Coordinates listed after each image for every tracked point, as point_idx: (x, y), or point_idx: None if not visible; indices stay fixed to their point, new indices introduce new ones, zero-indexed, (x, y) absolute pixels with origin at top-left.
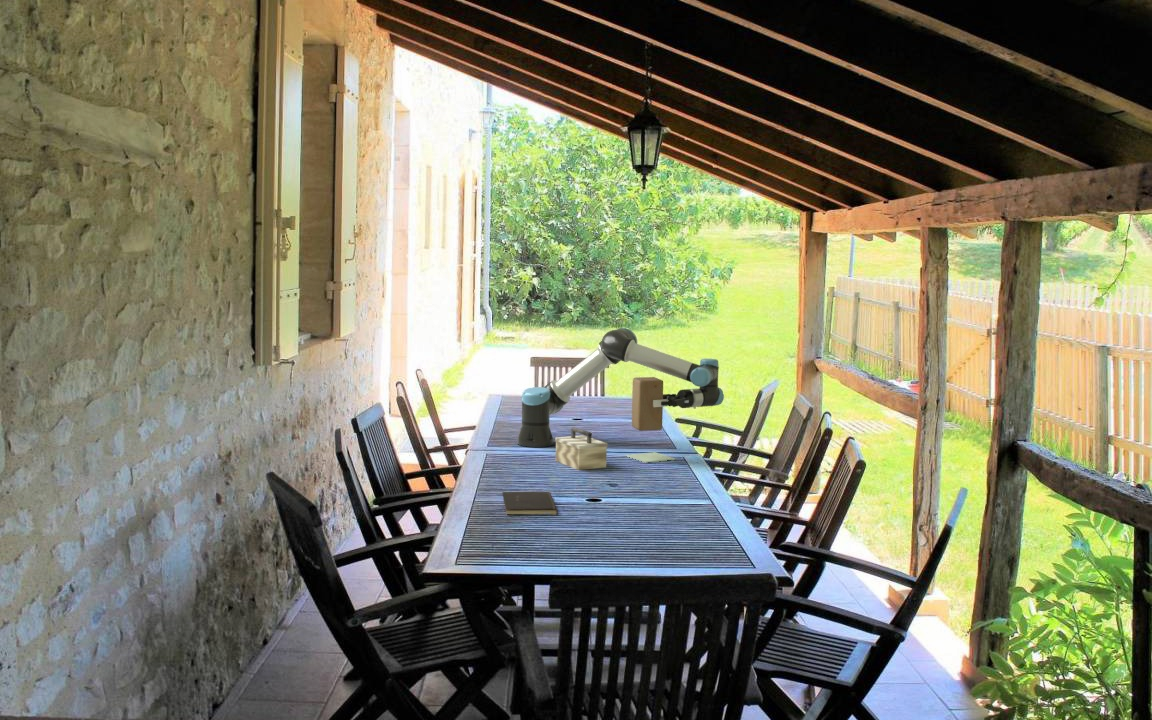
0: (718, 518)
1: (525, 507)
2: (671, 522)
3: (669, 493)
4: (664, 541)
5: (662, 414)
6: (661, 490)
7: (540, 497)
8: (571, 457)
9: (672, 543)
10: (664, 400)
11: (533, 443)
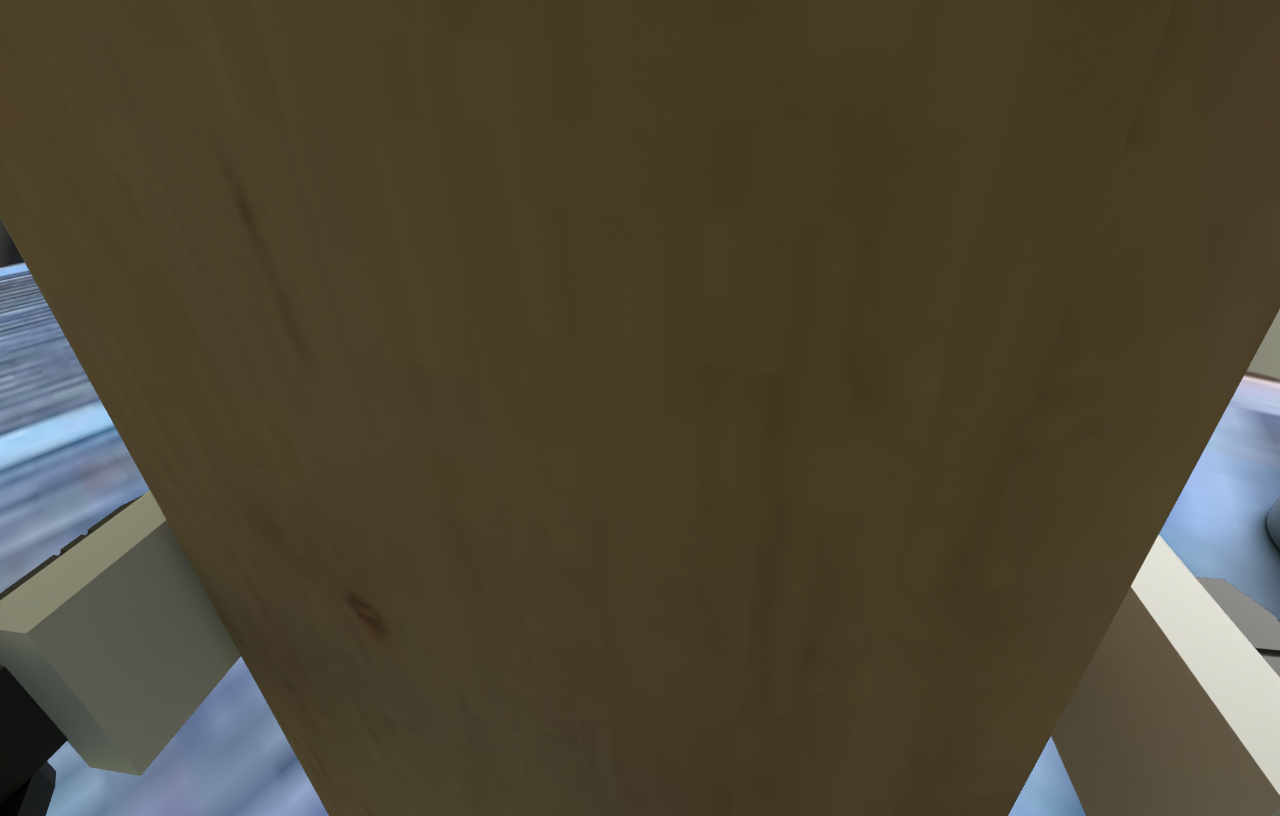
0: None
1: None
2: (36, 349)
3: (92, 470)
4: (39, 304)
5: (324, 804)
6: (140, 475)
7: None
8: None
9: (17, 306)
10: (112, 546)
11: (1276, 504)
